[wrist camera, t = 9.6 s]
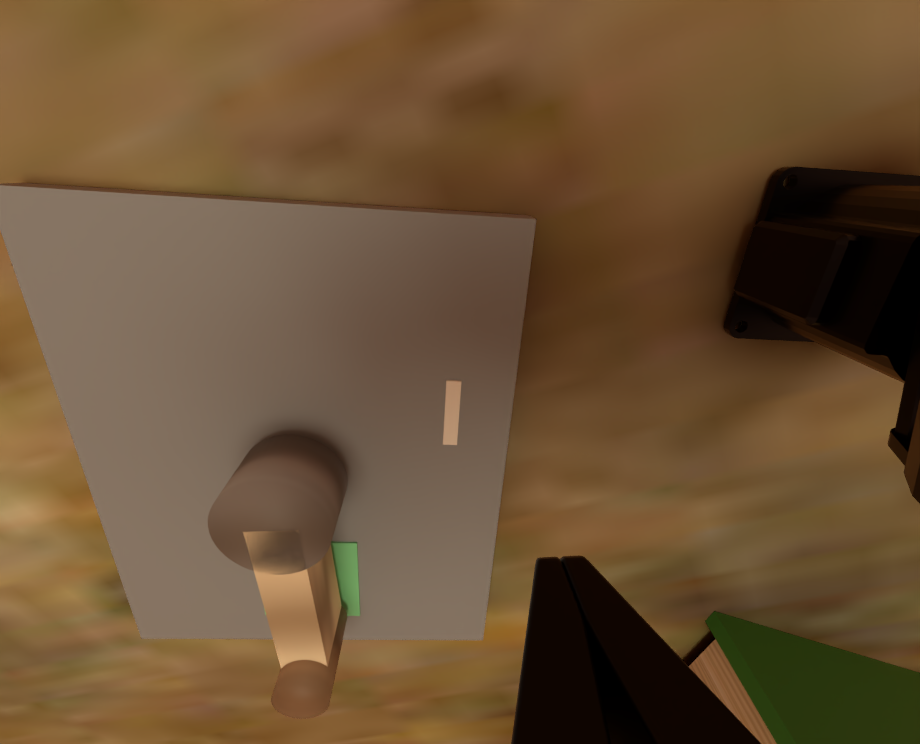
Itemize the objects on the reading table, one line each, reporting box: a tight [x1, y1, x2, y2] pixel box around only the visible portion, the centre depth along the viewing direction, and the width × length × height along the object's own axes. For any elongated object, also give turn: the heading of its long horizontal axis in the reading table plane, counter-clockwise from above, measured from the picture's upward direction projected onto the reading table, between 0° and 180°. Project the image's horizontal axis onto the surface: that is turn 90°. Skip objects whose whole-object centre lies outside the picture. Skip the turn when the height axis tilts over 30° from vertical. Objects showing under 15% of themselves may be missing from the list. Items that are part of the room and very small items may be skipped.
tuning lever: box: [208, 435, 348, 719], centre depth 19 cm, size 12×4×4 cm, turn 1°
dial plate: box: [0, 183, 536, 640], centre depth 20 cm, size 18×22×2 cm
